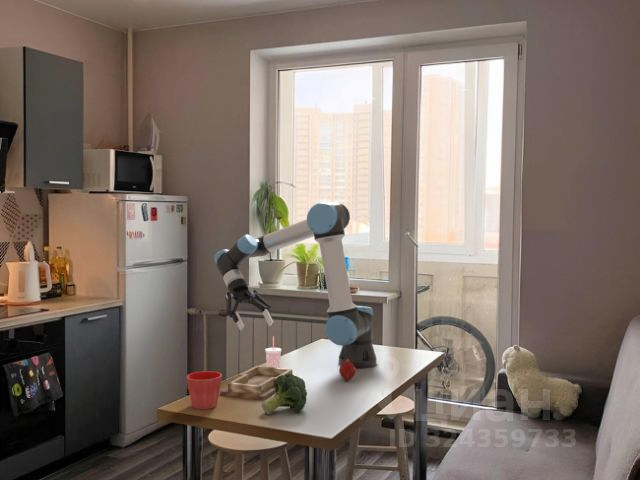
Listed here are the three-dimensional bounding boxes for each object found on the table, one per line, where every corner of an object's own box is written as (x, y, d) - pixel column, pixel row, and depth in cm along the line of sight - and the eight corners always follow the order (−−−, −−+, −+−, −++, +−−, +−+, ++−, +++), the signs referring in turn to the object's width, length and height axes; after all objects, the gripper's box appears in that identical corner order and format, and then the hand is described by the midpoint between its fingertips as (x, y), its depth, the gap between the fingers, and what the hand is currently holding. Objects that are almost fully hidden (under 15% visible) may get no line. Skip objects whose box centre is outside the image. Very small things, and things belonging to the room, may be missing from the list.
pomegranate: (335, 380, 238) (336, 358, 237) (346, 377, 242) (346, 356, 242) (348, 384, 234) (348, 361, 233) (358, 380, 238) (358, 358, 238)
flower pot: (183, 402, 211) (183, 372, 210) (217, 399, 215) (217, 369, 214) (190, 412, 201) (190, 381, 200) (225, 408, 205) (225, 377, 205)
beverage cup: (266, 370, 251) (266, 334, 250) (282, 371, 251) (282, 334, 250) (264, 375, 245) (264, 337, 244) (280, 375, 245) (280, 337, 244)
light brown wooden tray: (294, 379, 238) (294, 369, 238) (264, 400, 214) (264, 388, 214) (254, 375, 244) (254, 365, 244) (220, 394, 219) (220, 383, 219)
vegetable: (252, 399, 207) (291, 374, 213) (275, 433, 202) (315, 406, 208) (253, 386, 197) (294, 359, 203) (278, 421, 192) (319, 393, 198)
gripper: (257, 286, 276) (279, 328, 265) (205, 291, 260) (225, 335, 249) (265, 275, 271) (287, 316, 261) (212, 279, 255) (233, 324, 245)
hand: (257, 326), depth 255 cm, fingers open, 13 cm apart
